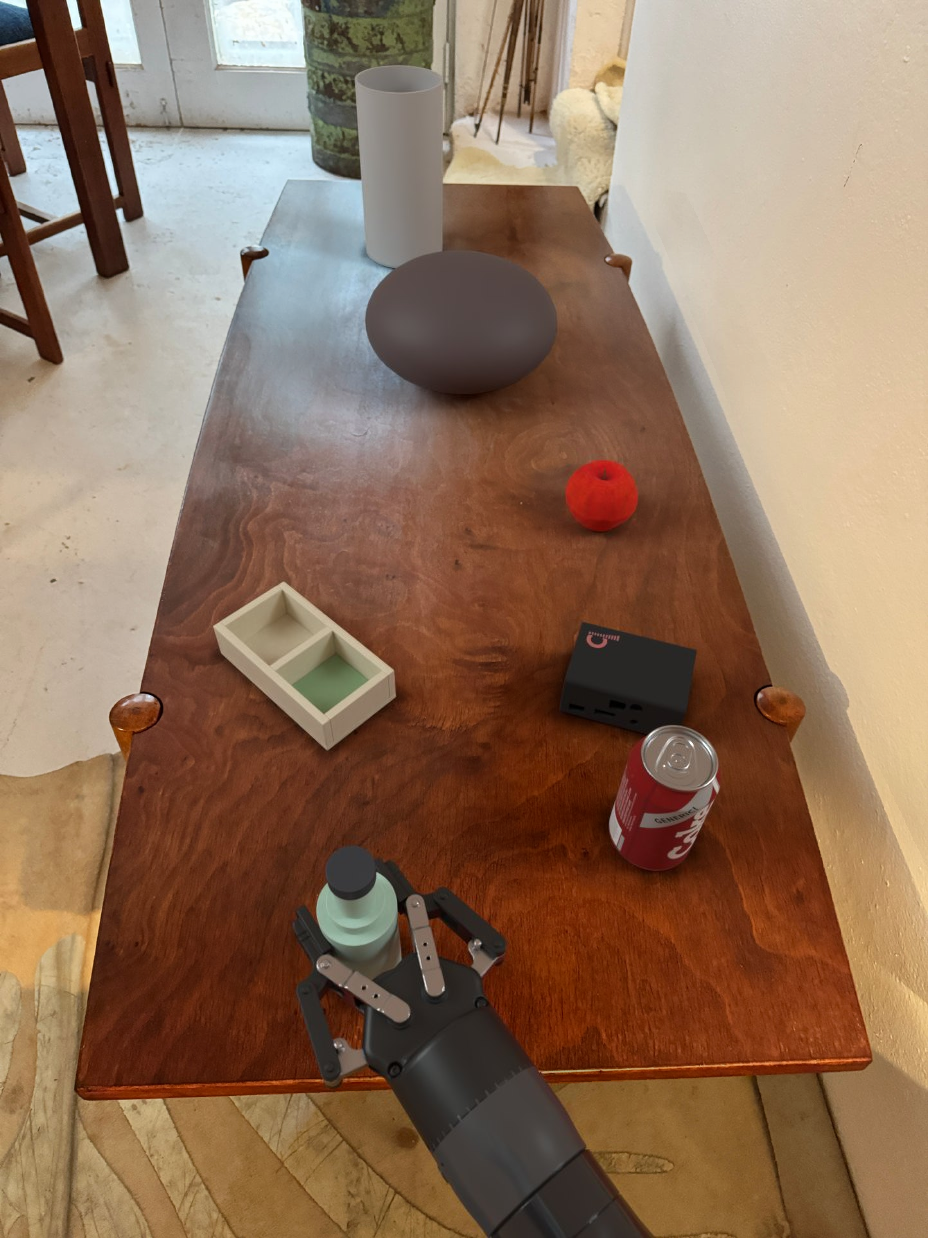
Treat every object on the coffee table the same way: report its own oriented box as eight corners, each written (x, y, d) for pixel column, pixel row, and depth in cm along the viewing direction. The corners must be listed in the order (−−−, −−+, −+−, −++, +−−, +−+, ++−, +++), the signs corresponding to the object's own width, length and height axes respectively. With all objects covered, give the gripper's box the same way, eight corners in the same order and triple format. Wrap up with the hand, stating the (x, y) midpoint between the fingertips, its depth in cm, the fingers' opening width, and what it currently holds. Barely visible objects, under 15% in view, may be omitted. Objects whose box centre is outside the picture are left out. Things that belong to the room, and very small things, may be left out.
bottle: (363, 1015, 60) (346, 928, 48) (316, 962, 62) (288, 869, 51) (416, 961, 62) (411, 867, 51) (368, 913, 65) (354, 813, 53)
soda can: (599, 859, 68) (623, 781, 59) (616, 789, 72) (642, 707, 63) (682, 886, 67) (720, 810, 58) (695, 813, 71) (732, 732, 62)
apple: (574, 490, 99) (582, 438, 93) (639, 509, 97) (652, 456, 91) (552, 532, 94) (559, 480, 88) (621, 553, 92) (632, 500, 86)
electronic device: (674, 744, 75) (686, 711, 72) (558, 713, 77) (564, 680, 74) (685, 681, 80) (697, 648, 77) (576, 654, 82) (582, 619, 78)
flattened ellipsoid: (411, 312, 126) (408, 209, 115) (572, 346, 120) (586, 241, 109) (337, 399, 110) (326, 290, 99) (519, 443, 105) (529, 332, 94)
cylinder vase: (396, 278, 133) (390, 99, 114) (351, 249, 139) (337, 75, 120) (458, 256, 138) (460, 81, 119) (411, 229, 144) (407, 60, 126)
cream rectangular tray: (327, 751, 74) (322, 725, 71) (220, 653, 81) (212, 625, 78) (396, 696, 78) (394, 670, 75) (289, 608, 85) (283, 580, 82)
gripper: (590, 1018, 49) (424, 805, 58) (380, 1194, 43) (231, 926, 52) (574, 1055, 54) (425, 855, 63) (387, 1214, 48) (251, 970, 57)
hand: (338, 888), depth 58 cm, fingers closed on bottle, 5 cm apart
